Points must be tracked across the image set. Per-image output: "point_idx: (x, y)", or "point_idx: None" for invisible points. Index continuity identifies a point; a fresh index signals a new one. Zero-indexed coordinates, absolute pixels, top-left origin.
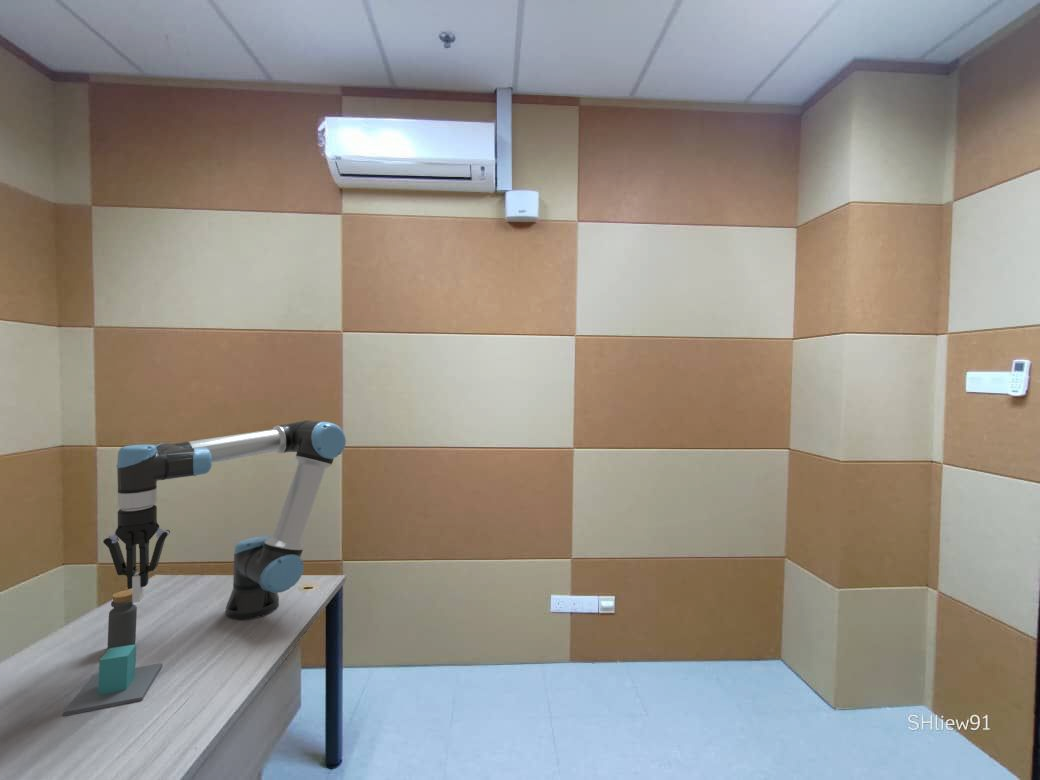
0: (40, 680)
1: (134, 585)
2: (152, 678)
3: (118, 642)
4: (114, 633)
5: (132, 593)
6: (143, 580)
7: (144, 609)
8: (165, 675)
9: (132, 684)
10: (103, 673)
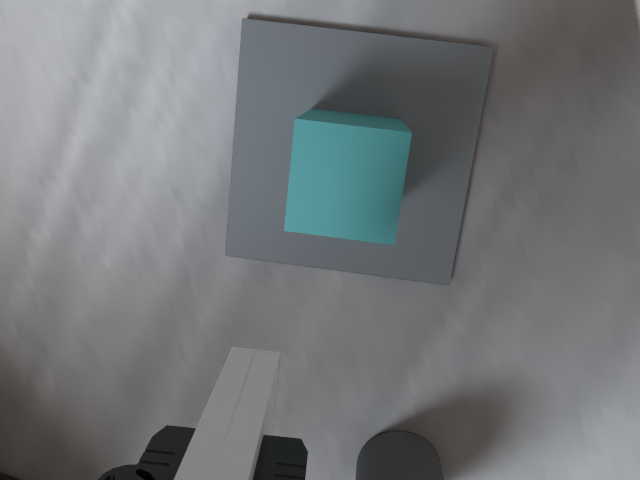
0: (613, 351)
1: (241, 432)
2: (236, 149)
3: (404, 455)
4: None
5: (268, 389)
6: (163, 466)
7: None
8: (203, 174)
9: None
10: (390, 124)
